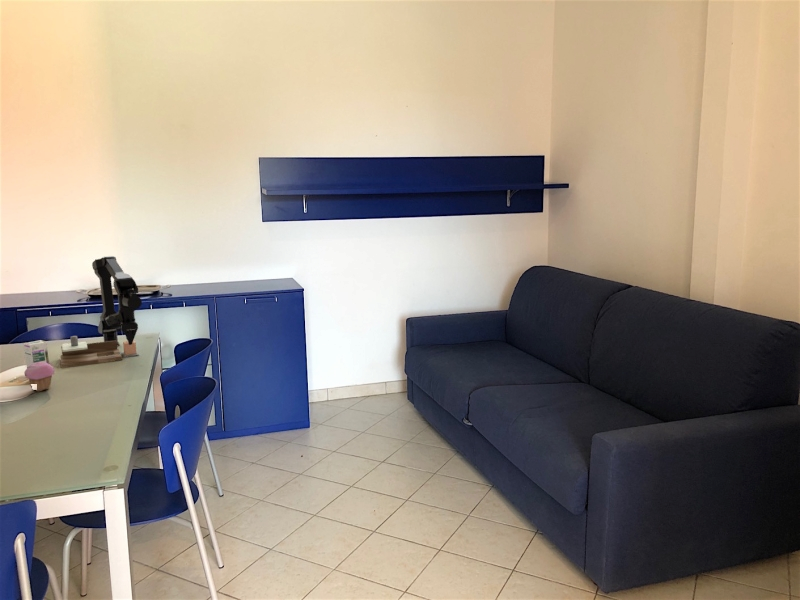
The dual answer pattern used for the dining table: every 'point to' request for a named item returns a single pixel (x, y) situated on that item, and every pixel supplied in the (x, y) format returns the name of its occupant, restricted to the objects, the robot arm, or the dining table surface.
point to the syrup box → (36, 352)
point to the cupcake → (40, 375)
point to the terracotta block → (129, 348)
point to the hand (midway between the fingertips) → (129, 342)
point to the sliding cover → (74, 345)
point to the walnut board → (91, 354)
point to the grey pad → (129, 355)
